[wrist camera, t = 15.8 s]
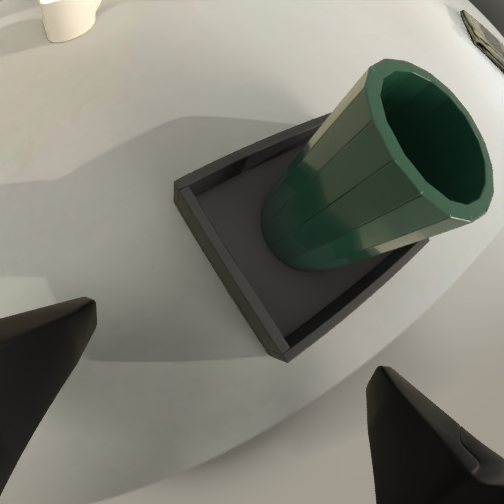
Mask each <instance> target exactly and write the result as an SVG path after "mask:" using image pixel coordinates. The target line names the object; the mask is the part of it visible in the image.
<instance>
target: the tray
mask: <svg viewBox="0 0 504 504" xmlns="http://www.w3.org/2000/svg"><path fill="white" fill-rule="evenodd" d="M330 114H331V113H329V114H326V115H324V116H321V117H318V118H316V119H313V120H310V121H308V122H305V123H302V124H300V125H297V126H295V127H292V128H290V129H287V130H285V131H282V132H280V133H277V134H275V135H273V136H270V137H268V138H265V139H263V140H261V141H258V142H256V143H254V144H252V145H249V146H247V147H245V148H242V149H240V150H238V151H236V152H234V153H231V154H229V155H227V156H225V157H223V158H221V159H218V160H216V161H214V162H212V163H210V164H208V165H206V166H204V167H202V168H200V169H198V170H196V171H194V172H192V173H190V174H188V175H186V176H184V177H182V178H180V179H178V180H176V181H174V203H175V205H176V206H177V208H178V210H179V211H180V213H181V215H182V217H183V218H184V220H185V222H186V223H187V225H188V227H189V228H190V230H191V232H192V233H193V235H194V237H195V238H196V240H197V242H198V243H199V245H200V247H201V248H202V250H203V251H204V253H205V255H206V256H207V258H208V260H209V261H210V263H211V264H212V266H213V268H214V269H215V271H216V273H217V274H218V276H219V277H220V279H221V281H222V282H223V284H224V285H225V287H226V289H227V290H228V292H229V293H230V295H231V297H232V298H233V300H234V301H235V303H236V304H237V306H238V308H239V309H240V311H241V312H242V314H243V315H244V317H245V318H246V320H247V322H248V323H249V325H250V326H251V328H252V329H253V331H254V332H255V334H256V335H257V337H258V338H259V340H260V341H261V343H262V345H263V346H264V348H265V349H266V351H267V352H268V354H269V355H270V356H272V357H274V358H277V359H279V360H282V361H284V362H286V363H288V362H290V361H291V360H292V359H294V358H295V357H296V356H298V355H299V354H300V353H302V352H303V351H304V350H306V349H307V348H308V347H310V346H311V345H312V344H313V343H315V342H316V341H317V340H319V339H320V338H321V337H322V336H324V335H325V334H326V333H327V332H329V331H330V330H331V329H332V328H334V327H335V326H336V325H337V324H339V323H340V322H341V321H342V320H343V319H345V318H346V317H347V316H348V315H349V314H351V313H352V312H353V311H354V310H355V309H357V308H358V307H359V306H360V305H361V304H362V303H364V302H365V301H366V300H367V299H368V298H369V297H370V296H372V295H373V294H374V293H375V292H376V291H377V290H378V289H379V288H381V287H382V286H383V285H384V284H385V283H386V282H387V281H388V280H389V279H390V278H392V277H393V276H394V275H395V274H396V273H397V272H398V271H399V270H400V269H401V268H402V267H403V266H404V265H405V264H406V263H408V262H409V261H410V260H411V259H412V258H413V257H414V256H415V255H416V254H417V253H418V252H419V251H420V250H421V249H422V248H423V247H424V246H425V245H426V244H427V243H428V242H429V241H430V240H429V238H426V239H423V240H420V241H417V242H415V243H412V244H409V245H406V246H403V247H400V248H396V249H393V250H390V251H387V252H384V253H381V254H378V255H375V256H372V257H369V258H366V259H362V260H359V261H356V262H353V263H350V264H346V265H343V266H340V267H337V268H333V269H330V270H327V271H323V272H316V273H308V272H301V271H297V270H295V269H292V268H290V267H289V266H287V265H285V264H284V263H282V262H281V261H280V260H279V259H278V258H277V257H276V256H275V255H274V254H273V253H272V252H271V250H270V249H269V247H268V245H267V244H266V241H265V239H264V237H263V234H262V229H261V222H260V216H261V209H262V205H263V202H264V200H265V198H266V196H267V195H268V193H269V191H270V189H271V188H272V187H273V185H274V184H275V183H276V181H277V180H278V179H279V178H280V176H281V175H282V174H283V173H284V171H285V170H286V169H287V168H288V166H289V165H290V164H291V163H292V161H293V160H294V159H295V158H296V156H297V155H298V154H299V153H300V151H301V150H302V149H303V148H304V146H305V145H306V144H307V143H308V141H309V140H310V139H311V138H312V136H313V135H314V134H315V133H316V131H317V130H318V129H319V128H320V127H321V125H322V124H323V123H324V122H325V120H326V119H327V118H328V117H329V115H330Z"/></svg>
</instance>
